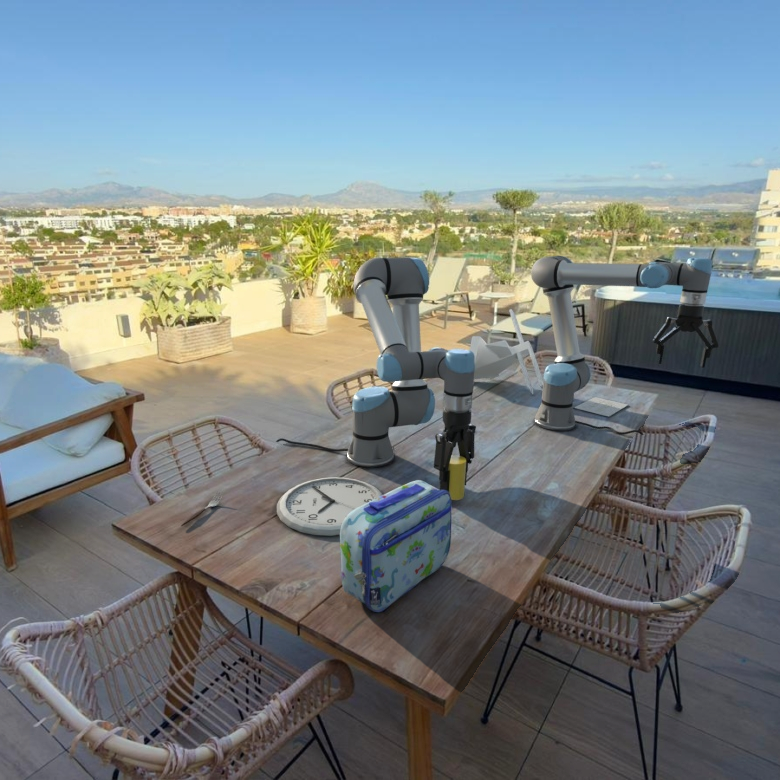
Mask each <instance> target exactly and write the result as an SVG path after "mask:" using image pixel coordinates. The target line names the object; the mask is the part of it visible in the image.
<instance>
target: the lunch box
mask: <svg viewBox="0 0 780 780" xmlns="http://www.w3.org/2000/svg"><path fill="white" fill-rule="evenodd" d="M383 494H384V495H382V496H380V497H378V498H376V499H374V500H372V501H370V502H368V503H366V504H364V505H362V506H360V507H358V508H356V509H354V510H353V511H351V512H350V513H349V514H348V515H347V516H346V518H345V519H344V521H343V523H342V526H341V530H340V535H339V551H340V574H341V576H340V577H341V585H342V588H343V589H342V590H343V591H344V593H346V594H348V595H350V596H352V597H353V598H355V599H357V600H358V601H359V602H361V603H362V604H364V605H365V606H366V608H367V609H369V610H370V611H371V612H374V613H381V612H384V611H385V610H386V609H387V608H389V607H390V606H391V605H392V604H393V603H395V602H396V601H397V600H399V599H400V598H401V597H402V596H404V595H405V594H407V593H408V592H410V591H411V590H412V589H413V588H415V587H416V586H417V585H418V584H419V583H420V582H421V581H423V580H425V579H426V578H427V577H429V576H430V575H432V574H434V573H435V572H436V571H438V570H439V569H440V568H441V567H442V566H443V565H444V563H445V562H446V560H447V558H448V556H449V553H450V550H451V549H450V548H451V545H452V543H451V542H452V500H451V496H450V493H449V492H448V491H446V490H440V488H439V489H438V488H437V487H435V486H434V485H431V484H429V483H427V482H426V481H424V480H421V479H416V480H413V481H410V482H408V483H405V484H403V485H401V486H399V487H397V488H394V489H393V490H390V491H388V492H387V493H383Z"/></svg>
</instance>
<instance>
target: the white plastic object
mask: <svg viewBox="0 0 780 780" xmlns="http://www.w3.org/2000/svg"><path fill="white" fill-rule="evenodd" d="M508 311H509V314H510V317H511V320H512V324H513V327H514V330H515V333H516V337H517V340H518V342H519V344H516V345H514V346H512V345H510V344H509V343H508V341H507V340H506V339H503V340H499V341H493V342H490V343H487V342H486V341H485V340H484V339H483V337H482V336H481V335H472V337H471V340H470V345H469V350H470V351H472V352H473V353H474V355H475V362H474V363H475V370H474V380H480V379H490V380H492V379H496V378H497V377H498V378H499V377H500V374H502V372H504V371H506V370H507V369H508V368H510V367H511V366H512V365H514V364H515V363H517V362H519V366H520V369H521V373H522V376H523V378H524V382H525V386H526V388H527V389H528V390H529V392H530V393H531V394H532V395H534V388H533V385H532V382H531V379H530V376H529V373H528V370H527V366H526V363H525V360H524V358H525V357H527V356H529V357H530V359H531V360H530V361H531V362H532V365H533V369H534V372H535V375H536V379H537V381H538V384H539V387H540V389H541V390H542V391H543V381H544V378H543V375H542V373H541V369H540V367H539V364H538V361H537V358H536V355H535V352H534V349H533V346H532V344H531V342H530V341H529V340H526V341H525V340H524V337H523V335H522V332H521V329H520V325H519V323H518V319H517V316H516V313H515V312H514V310H513V309H512V308H510V309H508Z"/></svg>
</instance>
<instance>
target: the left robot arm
mask: <svg viewBox="0 0 780 780" xmlns="http://www.w3.org/2000/svg"><path fill="white" fill-rule="evenodd" d="M429 286H430V275H429V270H428V268H427V265H426V264H425V262H424V261H423V260H422V259H421V258H418V257H411V256H406V257H404V256H403V257H401V256H400V257H398V256H397V257H373V258H370V259H368V260H366V261H365V262H363V264H361V265H360V267H359V268H358V269H357V270H356V273H355V276H354V279H353V287H352V288H353V292H354V297H355V298H356V300H357V302H358V303H359V304H361V305H362V307H363V310H364V313H365V315H366V319H367V322H368V324H369V327H370V329H371V332H372V334H373V338H374V340H375V343H376V346H377V348H378V351H379V355H378V357H377V359H376V370H377V371H376V373H377V376H378V378H379V379H380V381H382V382H384V383H385V382H388V383H392V384H391V391H390V390H389V388H388V387H385V386H368V387H365V388H362V389H360V390H358V391H357V392H355V393H354V394H353V397H352V405H351V410H352V437H351V441H350V443H349V446H348V448H330V447H326V446H322V445H319V444H315V443H314V444H312V443H307V442H299V441H293V440H288V439H286V438H283V437H281V438H278V439H276V440H275V443H279V442H285V443H288V444H293V445H300V446H306V447H313V448H318V449H322V450H326V451H329V452H347V453H346V454H347V455H346V457H347V458H346V459H347V461H348V462H349V464H352V465H354V466H356V467H361V468H366V469H367V468H370V469H371V468H373V469H374V468H381V467H384V466H387V465H389V464H391V463H392V462H393V461H394V459H395V457H394V456H395V452H394V451H395V445H392V443H391V440H390V437H389V436H390V435H389V432H390V431H389V430H390V428H397V427H406V426H418V425H421V424H422V425H423V424H426V423H429V422H430V421H431V420H432V418H433V416H434V414H435V408H436V397H435V393H434V391H433V389H432V388H431V387H429V386H428V383H427V381H426V380H428V379H429V380H430V379H441V380H442V381H444V382H443V398H442V399H443V400H442V401H443V402H442V408H443V409H442V422H443V424H444V427H443V429H442V432H441V433H436V434H435V436H434V437H435V450H434V459H433V469H435V470H438V471H439V472H438V480H439V490H446V491H448V492H449V480H450V470H448V467H449V463H450V460H451V456H452V455H453V452H454V449H455V448H456V446H457V448H458V455H460V456H463V457H464V458H465V459H466V473H465V486H467V477H468V471H469V465H470V464H472V463H473V459H475V435H476V429H477V426H476V425H475V424H472V412H473V411H472V407H473V393H474V381H475V379H474V370H475V363H474V362H475V355H474V353H473V352H472V351H470V349H465V348H452V349H445V348H443V347H437V346H436V347H432V348H430V349H428V350H425V351H424V350H423V351H422V343H421V342H422V341H421V340H422V339H421V321H420V320H421V319H420V304H421V303H422V302H423V300H424V296H425V294H427V293H428V291H429V288H430V287H429ZM391 307H392V308H391Z"/></svg>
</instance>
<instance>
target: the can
mask: <svg viewBox="0 0 780 780" xmlns="http://www.w3.org/2000/svg"><path fill="white" fill-rule="evenodd" d="M448 470H450V480H449V493H450V496H451V501H459V500H462V499H463V498H464V497H465V486H466V485H465V473H466V459H465V458H464V457H463V456H460V454H452V456H451V460H450V463H449V467H448Z"/></svg>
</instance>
